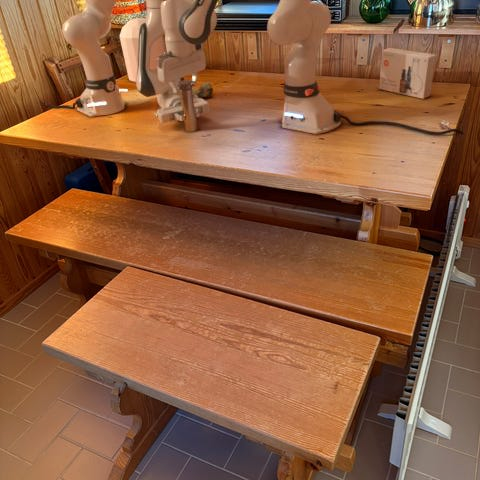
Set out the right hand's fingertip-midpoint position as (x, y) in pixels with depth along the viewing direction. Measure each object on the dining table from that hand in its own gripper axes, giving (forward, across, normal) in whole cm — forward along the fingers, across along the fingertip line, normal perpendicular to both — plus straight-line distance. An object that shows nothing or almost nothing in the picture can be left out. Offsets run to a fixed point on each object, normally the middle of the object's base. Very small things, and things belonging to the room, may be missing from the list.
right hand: (185, 88), depth 166 cm
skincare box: (+15, +73, -50) cm, 90 cm away
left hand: (+10, 0, 0) cm, 10 cm away
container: (+15, +43, +76) cm, 89 cm away
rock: (+15, +30, +25) cm, 43 cm away
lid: (-2, 0, 0) cm, 2 cm away
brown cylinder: (+15, 0, 0) cm, 16 cm away
